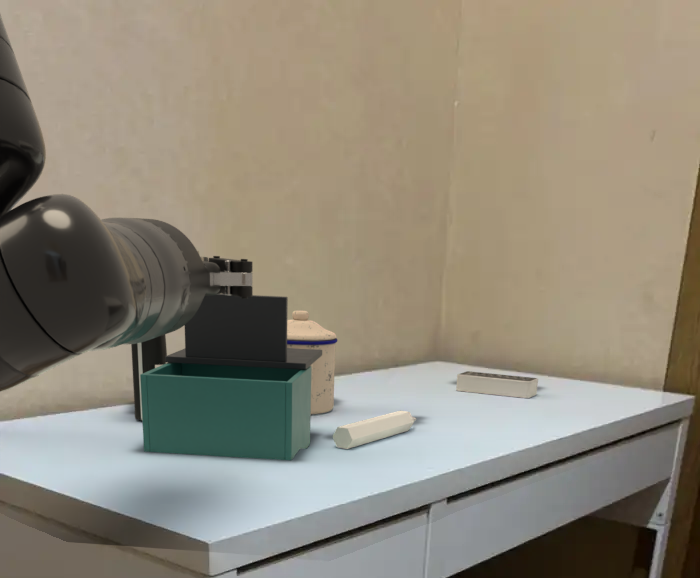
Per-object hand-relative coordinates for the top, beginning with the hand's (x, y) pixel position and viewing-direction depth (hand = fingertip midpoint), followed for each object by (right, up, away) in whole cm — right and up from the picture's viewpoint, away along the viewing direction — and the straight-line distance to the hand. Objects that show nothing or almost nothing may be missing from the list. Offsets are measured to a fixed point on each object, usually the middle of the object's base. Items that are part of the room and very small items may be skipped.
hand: (199, 270), depth 76 cm
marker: (+16, -9, +26) cm, 32 cm away
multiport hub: (+33, +4, +59) cm, 68 cm away
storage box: (0, -12, +16) cm, 20 cm away
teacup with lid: (+6, -3, +39) cm, 40 cm away
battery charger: (-11, -5, +32) cm, 34 cm away
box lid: (+2, -1, +21) cm, 21 cm away
